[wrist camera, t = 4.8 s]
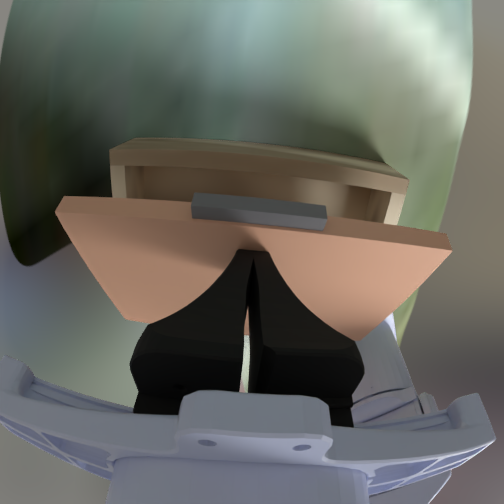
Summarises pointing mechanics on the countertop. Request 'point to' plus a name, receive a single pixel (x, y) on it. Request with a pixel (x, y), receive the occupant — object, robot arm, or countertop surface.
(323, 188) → the storage box
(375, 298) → the lid
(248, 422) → the robot arm
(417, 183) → the countertop surface
